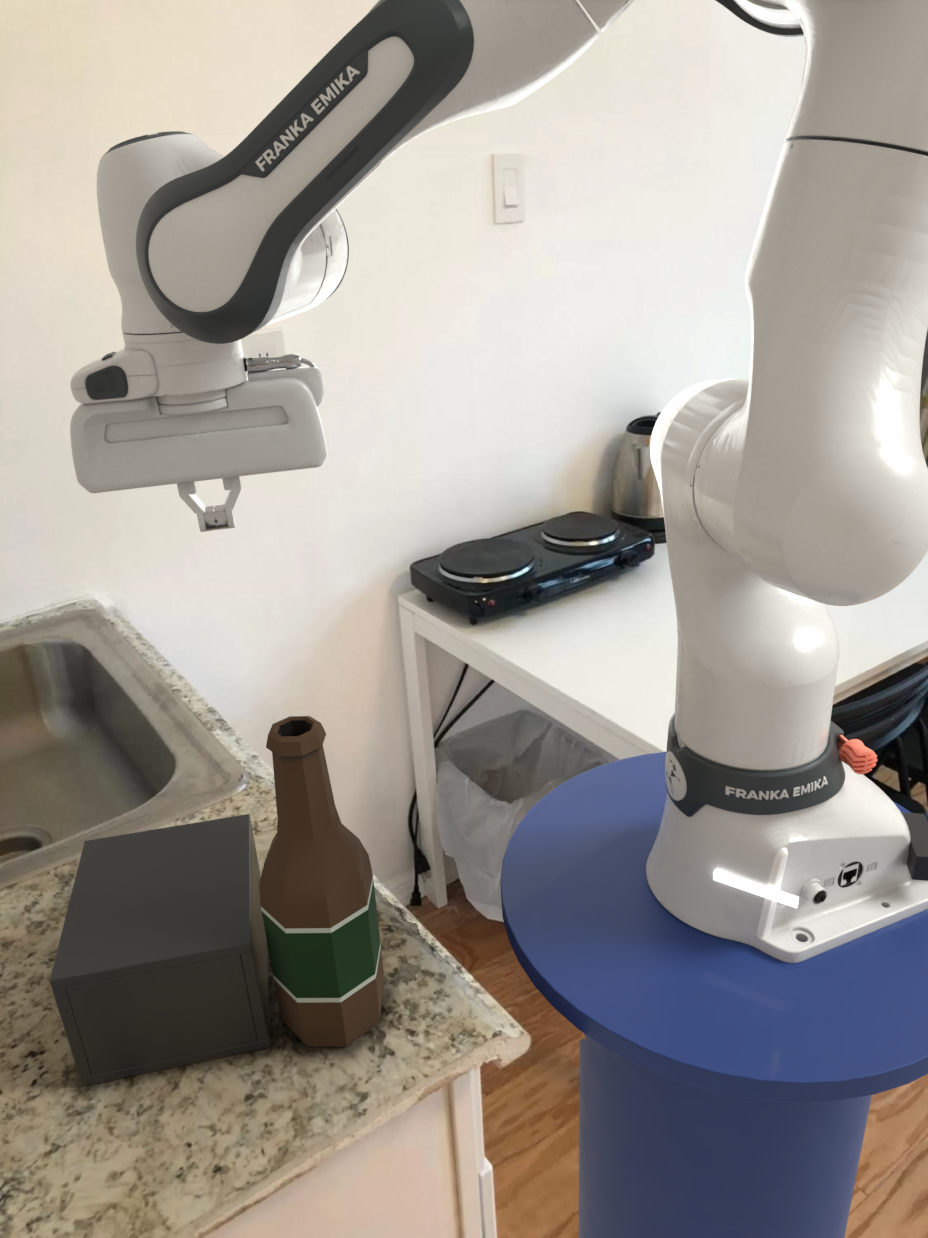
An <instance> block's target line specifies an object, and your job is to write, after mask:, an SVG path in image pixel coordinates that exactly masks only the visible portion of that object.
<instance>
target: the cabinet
mask: <svg viewBox="0 0 928 1238" xmlns="http://www.w3.org/2000/svg"><path fill="white" fill-rule="evenodd" d="M260 878H261V871H260V864H259V859H258V853H257V847H256V843H255V836H254V831H253V825H252V819H251V814H250V813H247V814H239V815H234V816H228V817H221V818H216V819H211V820H210V819H209V820H204V821H198V822H191V823H186V824H180V825H174V826H173V825H172V826H168V827H161V828H155V829H149V830H143V831H137V832H132V833H123V834H118V835H112V836H107V837H100V838H95V839H87V840H84V841H83V845H82V850H81V854H80V859H79V862H78V865H77V870H76V873H75V878H74V882H73V886H72V890H71V893H70V897H69V902H68V906H67V909H66V914H65V918H64V922H63V925H62V929H61V933H60V937H59V940H58V946H57V950H56V953H55V954H56V955H55V957H54V961H53V966H52V970H51V973H50V978H49V984H50V988H51V990H52V993H53V998H54V1000H55V1003H56V1007H57V1010H58V1013H59V1016H60V1019H61V1023H62V1026H63V1029H64V1032H65V1036H66V1038H67V1039H66V1040H67V1042H68V1045H69V1047H70V1052H71V1054H72V1057H73V1061H74V1064H75V1067H76V1070H77V1074H78V1077H79V1079H80V1082H81V1086H82V1087H86V1086H90V1085H96V1084H100V1083H105V1082H110V1081H114V1080H119V1079H125V1078H129V1077H134V1076H138V1075H143V1074H148V1073H152V1072H158V1071H163V1070H168V1069H173V1068H177V1067H182V1066H186V1065H187V1066H188V1065H192V1064H196V1063H201V1062H205V1061H206V1062H207V1061H211V1060H215V1059H220V1058H226V1057H229V1056H236V1055H241V1054H245V1053H248V1052H249V1053H250V1052H253V1051H259V1050H264V1049H268V1048H270V1047H271V1023H270V992H269V960H268V959H269V958H268V955H269V953H268V944H267V939H266V933H265V928H264V922H263V916H262V911H261V903H260V890H259V882H260Z"/></svg>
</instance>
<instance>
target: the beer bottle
mask: <svg viewBox="0 0 928 1238" xmlns="http://www.w3.org/2000/svg"><path fill="white" fill-rule="evenodd" d="M326 736H327V732H326V730H325V728H324V726H323V724H322V723H321V722H320V721H319V720H317V719H315V718H314V717H312V716H310V715H291V716H288V717H285V718H283V719H281V720H278V721H276V722H274V723H272V724H271V727H270V729H269V732H268V734H267V738H266V745H265V748H266V749H267V750H269V751H270V752H271V755H272V764H273V765H272V767H273V777H274V778H273V780H274V793H275V803H276V804H275V805H276V815H277V817H276V818H277V825H276V826H277V827H276V833H275V835H274V836H273V838H272V839H271V843H270V845H269V848H268V851H267V854H266V857H265V860H264V862H263V866H262V870H261V873H260V875H261V878H260V882H259V890H260V903H261V911H262V916H263V922H264V928H265V933H266V939H267V951H268V955H269V961H270V966H271V973H272V978H273V984H274V989H275V994H276V995H275V996H276V1000H277V1005H278V1009H279V1012H280V1017H281V1020H282V1022H283V1023H284V1025H286V1026H287V1027H288V1028H289V1030H291V1032H293V1034H295V1036H297V1038H298V1039H300V1041H301V1042H302V1043H303V1044H304V1045H305V1046H306V1047H308V1048H309V1047H310V1048H311V1047H315V1048H319V1047H321V1048H324V1047H325V1048H327V1047H328V1048H330V1047H331V1048H332V1047H333V1048H334V1047H335V1048H336V1047H340V1048H342V1047H346V1048H347V1047H348V1046H350V1045H352V1043H354V1042H355V1041H356V1040H358V1039H359V1038H360V1037H362V1036H364V1035H365V1034H366V1033H367V1032H368V1031H370V1030H371V1029H373V1028H375V1026H377V1025H378V1024H379V1022H380V1019H381V1013H382V1007H383V999H384V993H385V973H384V972H385V971H384V962H383V954H382V943H381V935H380V925H379V917H378V909H377V908H378V907H377V899H376V890H375V881H374V873H373V869H372V864H371V859H370V854H369V853H368V851H367V849H366V848H365V846H364V845H363V843H362V841H361V840H360V838H359V837H358V836H356V834H354V833H353V831H351V830H349V828H347V827H346V826H345V825H344V824H343V822H342V819H341V817H340V815H339V812H338V810H337V806H336V803H335V798H334V793H333V788H332V783H331V779H330V778H331V777H330V774H329V768H328V763H327V758H326V754H325V748H324V742H325V740H326Z"/></svg>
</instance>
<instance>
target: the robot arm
mask: <svg viewBox="0 0 928 1238" xmlns="http://www.w3.org/2000/svg"><path fill="white" fill-rule="evenodd" d="M714 1H716V2H717V3H718V4H720V5H721V6H723V7H724V8H726V9H727V10H728V11H729V12H730V13H732V14H733V15H734V16H736V18H738V19H740V21H743V22H744V23H746V24H748V25H749V26H751V27H753V28H755V29H757V30H759V31H761V32H764V33H767V34H770V35H773V36H777V37H784V38H796V37H804V44H805V56H804V57H805V58H804V66H803V71H802V77H801V82H800V86H799V90H798V93H797V98H796V101H795V104H794V108H793V110H792V114H791V117H790V120H789V123H788V126H787V127H788V128H787V130H786V134H785V137H784V140H783V143H782V146H781V149H780V153H779V156H778V160H777V163H776V167H775V171H774V173H773V177H772V180H771V183H770V188H769V190H768V194H767V198H766V201H765V204H764V208H763V211H762V214H761V218H760V220H759V221H760V222H759V225H758V228H757V232H756V234H755V239H754V241H753V246H752V249H751V252H750V256H749V259H748V262H747V265H746V269H745V275H744V289H745V295H746V299H747V302H748V305H749V309H750V318H751V349H750V361H749V362H750V363H749V376H748V378H747V377H746V378H743V377H742V378H719V379H712V380H704V381H702V382H698V383H695V384H693V385H690V386H688V387H686V388H685V389H683V390H682V391H680V392H679V393H677V394H675V396H674V397H673V398H672V399H671V400H670V401H669V402H668V403H666V405H665V407H664V408H662V411H661V412H660V413H659V415H658V417H657V419H656V420H655V423H654V426H653V429H652V431H651V435H650V442H649V457H650V462H651V466H652V469H653V473H654V476H655V480H656V482H657V486H658V489H659V493H660V499H661V506H662V514H663V521H664V522H663V523H664V530H665V541H666V542H665V543H666V548H667V549H666V550H667V557H668V558H667V559H668V563H669V564H668V566H669V572H670V578H671V585H672V591H673V600H674V607H675V617H676V630H677V650H676V651H677V652H676V677H675V699H674V700H675V701H674V712H673V714H672V715H671V717H670V718H669V719H670V720H669V721H668V729H667V741H666V750H665V752H666V758H665V779H666V790H667V797H666V803H665V807H664V812H663V817H662V821H661V824H660V828H659V832H658V835H657V838H656V841H655V843H654V846H653V848H652V850H651V852H650V854H649V857H648V859H647V863H646V877H647V881H648V884H649V886H650V889H651V891H652V892H653V894H654V896H655V897H656V898H657V900H658V901H659V902H660V903H661V904H662V906H663V907H665V908H666V909H667V910H668V911H669V912H670V913H671V914H673V915H674V916H675V917H676V918H678V919H679V920H681V921H683V922H684V923H686V924H688V925H690V926H691V927H693V928H695V929H698V930H700V931H702V932H705V933H707V934H710V935H713V936H716V937H720V938H724V939H728V940H732V941H737V942H741V943H745V944H748V945H751V946H753V947H755V948H757V949H758V950H760V951H762V952H764V953H766V954H768V955H770V956H772V957H774V958H776V959H778V960H780V961H783V962H787V963H799V962H802V961H804V960H807V959H809V958H812V957H814V956H816V955H819V954H821V953H824V952H826V951H828V950H831V949H833V948H836V947H838V946H840V945H843V944H845V943H848V942H850V941H852V940H855V939H857V938H860V937H862V936H864V935H867V934H869V933H872V932H874V931H876V930H879V929H881V928H884V927H886V926H888V925H891V924H893V923H896V922H898V921H900V920H903V919H905V918H908V917H910V916H912V915H915V914H917V913H920V912H922V911H924V910H927V909H928V820H927V817H926V815H925V813H915V812H911V813H903V812H900V810H899V809H898V808H897V806H896V805H895V804H894V802H895V801H893V800H892V799H891V798H890V796H888V795H887V794H886V793H885V791H884V790H882V789H881V788H880V787H879V786H878V785H877V784H876V783H875V782H874V781H872V780H871V779H869V778H868V777H867V776H866V775H865V774H868V773H870V772H872V771H873V768H875V767H876V766H877V763H878V755H877V754H876V752H875V751H874V750H872V749H871V748H869V747H867V746H865V744H864V742H863V740H860V739H858V738H852V739H848V738H846V737H845V736H844V734H845V731H844V730H843V729H842V728H840V726H838V724H836V723H835V722H834V721H832V711H833V705H834V697H835V690H836V682H837V674H838V666H839V659H840V642H839V636H838V632H837V628H836V625H835V622H834V620H833V618H832V615H831V614H830V611H829V608H828V606H832V607H848V606H849V607H850V606H856V605H860V604H861V605H862V604H864V603H868V602H871V601H874V600H877V599H878V598H880V597H882V596H884V595H886V594H888V593H889V592H891V591H892V590H894V589H896V588H897V587H899V586H900V585H901V584H902V583H903V582H904V581H905V580H907V578H908V577H909V576H911V574H913V572H914V571H915V570H916V569H917V567H918V566H919V565H920V564H921V562H922V561H923V559H924V557H926V554H927V552H928V465H927V462H926V458H925V455H924V451H923V445H922V437H921V420H920V419H921V416H920V415H921V414H920V413H921V412H920V411H921V410H920V409H921V389H922V388H921V387H922V375H923V374H922V373H923V364H924V356H925V355H924V354H925V348H926V340H927V335H928V0H714ZM634 2H636V0H377V1H376V3H375V4H374V5H373V6H372V7H371V9H369V11H368V12H367V14H365V15H364V16H363V18H362V19H360V20H359V22H357V23H356V25H354V27H352V28H351V29H350V30H349V31H348V32H347V33H346V34H344V36H343V37H342V38H341V39H340V40H339V41H337V43H336V44H335V45H334V46H332V48H331V49H330V50H329V51H328V52H327V53H326V54H325V55H324V56H323V57H322V58H320V60H319V61H318V62H317V63H316V65H314V66H313V67H312V68H311V69H310V70H309V71H308V72H307V74H305V76H303V77H302V79H301V80H300V81H299V82H298V83H297V84H296V85H295V86H294V87H293V88H292V89H291V90H290V91H289V92H288V93H287V94H286V95H285V96H284V97H283V98H282V99H281V100H280V102H278V103H277V104H276V105H275V106H274V108H272V110H271V111H270V112H269V113H268V114H267V115H266V116H265V117H264V118H263V119H262V120H261V121H260V122H259V123H258V124H257V125H256V126H255V127H254V128H253V129H252V131H251V132H250V133H249V134H248V135H247V136H246V137H245V138H244V139H243V140H241V142H239V144H238V145H236V146H235V147H234V148H233V149H232V150H231V151H230V152H228V153H227V154H226V155H224V154H223V153H222V154H221V153H219V152H218V151H217V150H214V149H213V148H211V147H210V146H208V144H206V143H205V142H204V141H203V140H202V139H201V138H199V137H198V136H197V135H195V134H193V133H191V132H185V131H181V130H179V131H178V130H177V131H174V130H172V131H170V130H169V131H161V132H160V131H159V132H156V133H151V134H143V135H140V136H135V137H132V138H129V139H126V140H123V141H121V142H119V143H116V144H115V145H113V146H111V147H109V149H108V150H107V151H106V152H105V153H104V154H103V155H102V156H101V157H100V159H99V162H98V165H97V171H96V199H97V201H96V202H97V209H98V219H99V225H100V229H101V230H100V232H101V236H102V242H103V247H104V251H105V256H106V262H107V266H108V267H107V268H108V271H109V274H110V276H111V278H112V280H113V283H114V285H115V286H116V288H117V291H118V294H119V298H120V303H121V319H120V321H121V324H120V328H121V333H122V338H123V342H124V345H123V348H122V349H120V350H117V351H112V352H109V353H107V354H105V355H103V356H102V357H101V358H98V359H96V360H93V361H91V362H89V363H87V364H86V365H84V366H82V367H80V368H79V369H78V370H77V371H76V372H75V373H74V374H73V375H72V377H71V379H70V384H69V385H70V390H71V394H72V396H73V398H74V400H75V402H77V403H79V405H78V406H77V408H76V409H75V410H74V412H73V413H72V416H71V419H70V424H69V434H70V448H71V455H72V462H73V467H74V471H75V472H74V473H75V477H76V480H77V483H78V484H79V485H80V486H81V487H82V488H83V489H85V490H86V492H88V493H89V494H100V493H107V492H108V493H110V492H116V491H125V490H134V489H142V488H143V489H144V488H152V487H160V486H161V487H162V486H168V485H169V486H170V485H176V486H177V491H178V495H179V498H180V499H181V500H182V501H183V502H184V503H185V504H186V505H187V506H188V508H189V509H190V510H191V511H192V512H193V513H194V514H196V517H197V522H198V523H197V524H198V527H199V528H198V529H199V531H200V533H206V532H212V531H221V530H230V529H236V518H235V517H236V516H235V512H234V508H235V505H236V502H237V500H238V498H239V495H240V493H241V491H242V477H247V476H255V475H263V474H271V473H280V472H290V471H300V470H306V469H316V468H320V467H321V466H323V464H324V463H325V461H326V460H327V458H328V455H329V453H328V446H327V441H326V437H325V436H326V435H325V431H324V427H323V423H322V422H323V421H322V418H321V415H320V412H319V408H318V407H319V406H320V405H321V403H322V401H323V398H324V393H325V392H324V385H323V375H322V372H321V370H320V368H319V367H318V365H317V364H316V363H314V361H312V360H310V359H308V358H304V357H301V355H300V354H298V353H287V354H283V355H280V356H256V357H245V356H244V351H243V346H242V339H245V338H246V337H248V336H250V335H251V334H254V333H255V332H257V331H259V330H261V329H262V328H264V327H265V326H269V325H271V324H274V323H276V322H281V321H284V320H286V319H288V318H291V317H293V316H296V315H298V314H301V313H304V312H307V311H309V310H311V309H313V308H315V307H318V306H319V305H320V304H322V303H323V302H324V301H326V300H327V299H329V298H330V297H331V296H332V295H333V294H334V293H335V292H336V291H337V290H338V288H339V287H340V285H341V283H342V282H343V280H344V278H345V276H346V273H347V270H348V269H347V268H348V265H349V258H350V257H349V256H350V246H349V236H348V232H347V229H346V226H345V222H344V221H343V218H342V216H341V214H340V213H339V211H338V209H337V208H338V207H339V206H340V205H341V204H343V203H344V201H346V200H347V198H348V197H350V196H351V195H352V194H353V192H355V191H356V190H357V189H358V188H359V187H360V186H361V185H362V184H363V183H364V182H365V181H366V180H367V179H368V178H369V177H371V175H372V174H374V172H375V171H376V170H377V169H378V168H379V167H380V166H381V165H383V163H384V162H385V161H387V160H388V159H389V158H390V157H392V155H393V154H395V153H396V152H397V151H399V150H400V149H401V148H403V147H404V146H405V145H407V144H408V143H410V142H411V141H413V140H414V139H416V138H418V137H421V136H422V135H424V134H425V133H427V132H430V131H432V130H433V129H436V128H438V127H441V126H443V125H446V124H449V123H453V122H454V121H458V120H462V119H464V118H468V117H471V116H472V117H473V116H475V115H481V114H484V113H487V112H488V113H489V112H493V111H497V110H500V109H504V108H508V107H511V106H513V105H515V104H517V103H519V102H520V101H522V100H523V99H525V98H526V97H528V96H529V95H531V94H532V93H534V92H535V91H537V90H538V89H540V88H541V87H543V86H544V85H545V84H547V83H548V82H550V81H551V80H553V79H554V78H555V77H556V76H557V75H559V74H561V72H563V71H564V70H565V69H566V68H568V67H569V66H571V64H573V63H574V62H575V61H576V60H577V59H578V58H579V57H581V56H582V54H584V52H586V51H587V50H588V49H589V48H590V47H591V46H592V45H593V44H594V43H595V42H596V41H597V40H598V39H599V38H600V37H601V34H600V33H599V31H598V29H599V30H600V32H601V33H602V34H604V33H605V32H606V31H607V30H608V29H609V28H610V27H611V26H612V25H613V24H614V23H615V22H616V21H617V20H618V19H619V18H620V17H621V16H622V15H623V14H624V12H625V11H626V10H628V9H629V8H630V6H631V5H632V4H633V3H634ZM588 15H589V16H588ZM590 18H591V19H590ZM592 21H593V22H594V23H595V25H596V26H595V25H594V23H593V22H592ZM596 27H597V28H598V29H597V28H596ZM302 364H304V365H307V366H302ZM210 480H212V481H213V480H222V485H223V490H224V491H228V494H227V496H226V499H225V501H224V504H218V505H205V504H204V502H203V501H202V500H201V499H200V498H199V497H198V495H197V491H198V490H197V489H198V482H203V481H210ZM800 941H802V942H800Z"/></svg>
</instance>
